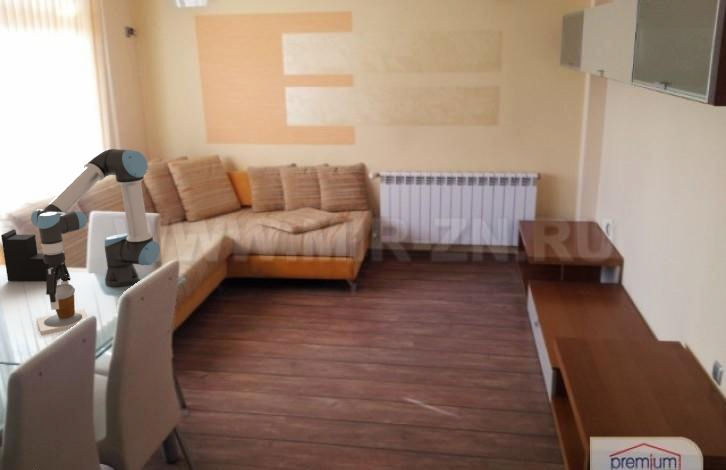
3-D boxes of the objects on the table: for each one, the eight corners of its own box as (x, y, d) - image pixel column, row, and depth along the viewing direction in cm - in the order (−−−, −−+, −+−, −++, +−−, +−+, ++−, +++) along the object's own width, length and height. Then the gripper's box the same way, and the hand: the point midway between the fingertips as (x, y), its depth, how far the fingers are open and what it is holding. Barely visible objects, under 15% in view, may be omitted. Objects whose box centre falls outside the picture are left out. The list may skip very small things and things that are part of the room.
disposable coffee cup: (54, 310, 247) (49, 285, 242) (79, 306, 250) (75, 281, 245) (52, 322, 239) (46, 296, 234) (78, 318, 242) (73, 293, 237)
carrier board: (84, 312, 253) (84, 308, 252) (91, 324, 241) (90, 320, 240) (36, 321, 243) (36, 318, 243) (41, 334, 231) (40, 331, 231)
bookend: (66, 274, 300) (60, 229, 293) (56, 281, 289) (49, 234, 283) (19, 274, 299) (12, 229, 293) (7, 281, 289) (-1, 235, 283)
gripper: (54, 243, 245) (61, 291, 251) (31, 262, 221) (39, 315, 227) (73, 242, 246) (80, 290, 252) (52, 261, 223) (60, 314, 228)
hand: (61, 302), depth 240 cm, fingers open, 13 cm apart
